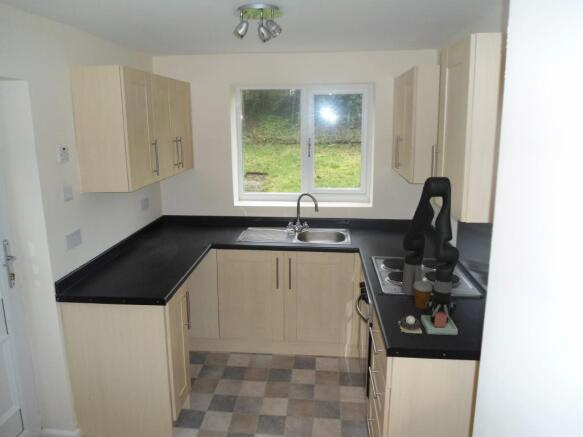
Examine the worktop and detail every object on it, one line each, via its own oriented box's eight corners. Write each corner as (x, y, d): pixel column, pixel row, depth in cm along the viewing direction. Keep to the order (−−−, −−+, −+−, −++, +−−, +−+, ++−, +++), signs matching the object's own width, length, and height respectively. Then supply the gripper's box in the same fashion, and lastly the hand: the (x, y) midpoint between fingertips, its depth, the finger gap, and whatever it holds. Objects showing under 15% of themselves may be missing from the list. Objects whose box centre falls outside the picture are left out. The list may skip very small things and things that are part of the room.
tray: (420, 319, 214) (421, 315, 213) (448, 321, 213) (449, 316, 212) (427, 333, 201) (427, 328, 200) (457, 335, 200) (457, 329, 200)
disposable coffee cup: (434, 306, 229) (436, 284, 226) (425, 312, 222) (427, 289, 219) (416, 300, 235) (418, 279, 232) (408, 306, 228) (410, 284, 225)
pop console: (398, 323, 210) (398, 316, 209) (417, 323, 210) (418, 317, 209) (401, 332, 202) (402, 325, 201) (421, 333, 201) (422, 326, 200)
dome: (404, 322, 207) (405, 313, 206) (413, 322, 207) (414, 314, 206) (406, 326, 203) (407, 317, 202) (415, 326, 203) (416, 318, 202)
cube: (431, 321, 209) (432, 311, 208) (442, 321, 209) (443, 311, 208) (434, 326, 204) (435, 316, 203) (445, 326, 204) (446, 316, 203)
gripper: (456, 286, 205) (452, 320, 210) (424, 285, 206) (421, 318, 210) (461, 293, 198) (456, 327, 202) (428, 291, 199) (424, 326, 203)
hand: (438, 323), depth 206 cm, fingers closed on cube, 4 cm apart
